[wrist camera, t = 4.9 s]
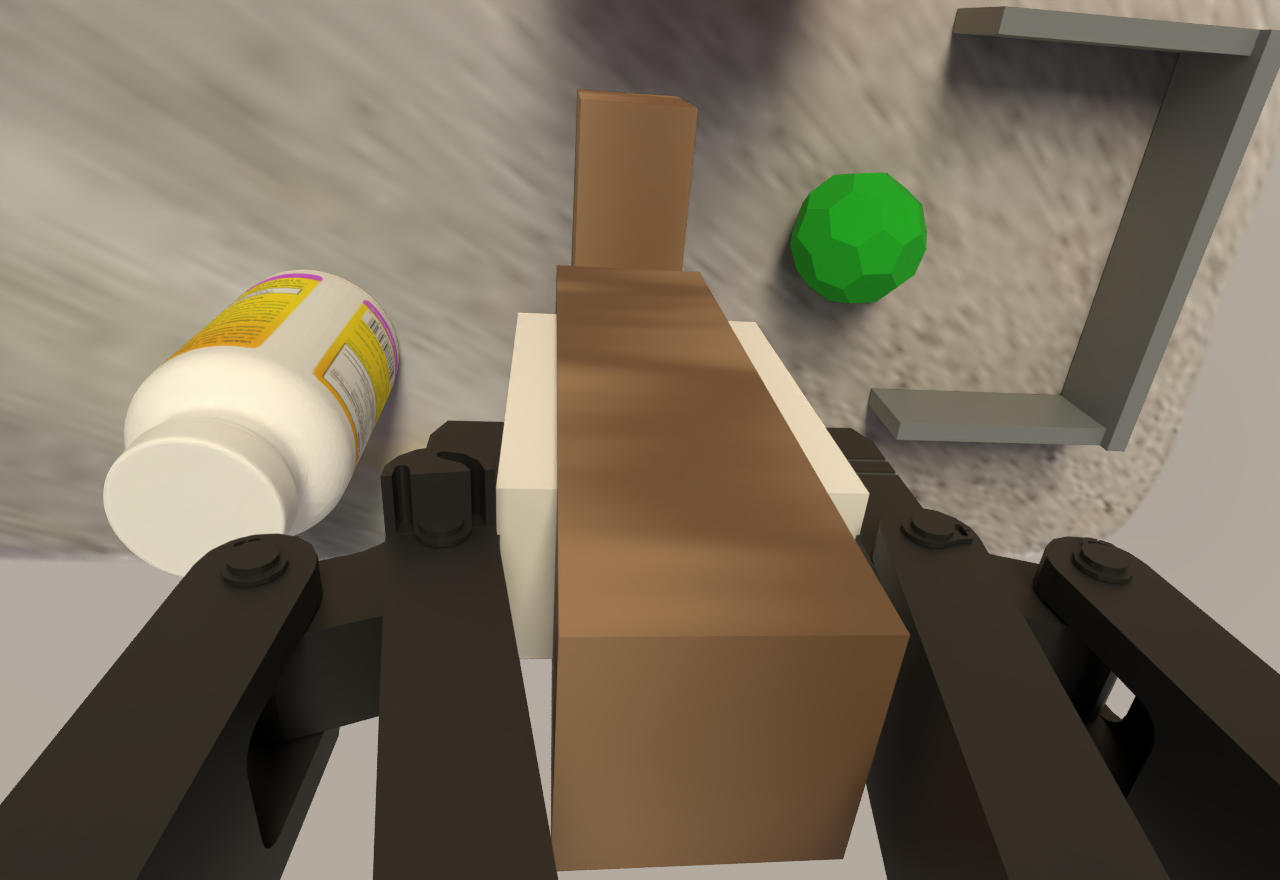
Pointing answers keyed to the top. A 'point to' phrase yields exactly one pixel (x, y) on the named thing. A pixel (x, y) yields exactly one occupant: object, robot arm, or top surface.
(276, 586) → the robot arm
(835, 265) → the polyhedron
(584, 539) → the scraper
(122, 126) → the top surface
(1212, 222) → the tray
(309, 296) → the supplement bottle
